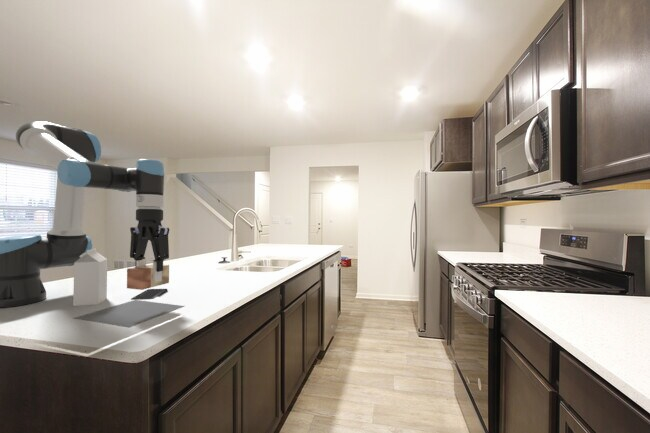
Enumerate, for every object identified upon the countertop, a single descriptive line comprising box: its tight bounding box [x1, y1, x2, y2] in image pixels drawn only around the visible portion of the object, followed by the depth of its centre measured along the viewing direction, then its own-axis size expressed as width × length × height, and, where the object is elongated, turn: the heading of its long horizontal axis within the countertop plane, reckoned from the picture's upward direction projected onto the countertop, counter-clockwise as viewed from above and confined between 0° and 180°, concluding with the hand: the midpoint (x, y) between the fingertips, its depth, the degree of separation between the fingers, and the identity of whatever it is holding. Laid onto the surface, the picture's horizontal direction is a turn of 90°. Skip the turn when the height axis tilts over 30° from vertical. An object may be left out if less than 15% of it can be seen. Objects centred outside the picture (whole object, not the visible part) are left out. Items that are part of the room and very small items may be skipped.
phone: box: [130, 288, 168, 301], centre depth 112 cm, size 8×1×15 cm
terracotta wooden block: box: [126, 263, 170, 291], centre depth 92 cm, size 10×6×6 cm, turn 163°
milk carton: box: [72, 248, 108, 307], centre depth 101 cm, size 7×7×19 cm
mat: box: [73, 299, 185, 328], centre depth 91 cm, size 22×20×1 cm
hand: (148, 280), depth 92 cm, fingers closed on terracotta wooden block, 6 cm apart
